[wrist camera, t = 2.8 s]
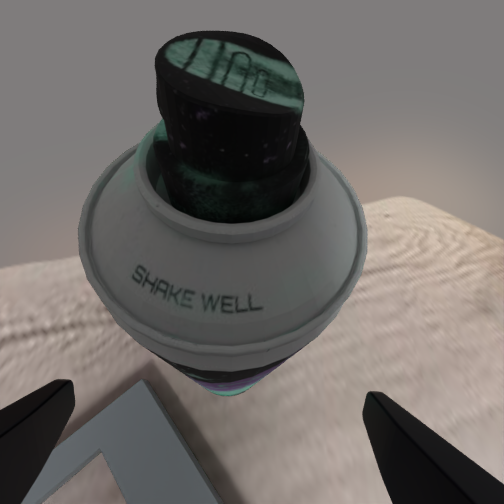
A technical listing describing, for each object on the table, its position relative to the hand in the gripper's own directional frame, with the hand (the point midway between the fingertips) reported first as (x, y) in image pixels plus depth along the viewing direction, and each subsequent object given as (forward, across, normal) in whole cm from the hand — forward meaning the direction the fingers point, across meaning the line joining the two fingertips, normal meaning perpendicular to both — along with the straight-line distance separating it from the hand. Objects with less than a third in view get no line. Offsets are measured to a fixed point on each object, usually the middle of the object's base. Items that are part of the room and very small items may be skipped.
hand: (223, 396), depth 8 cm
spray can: (+11, 0, +7) cm, 13 cm away
